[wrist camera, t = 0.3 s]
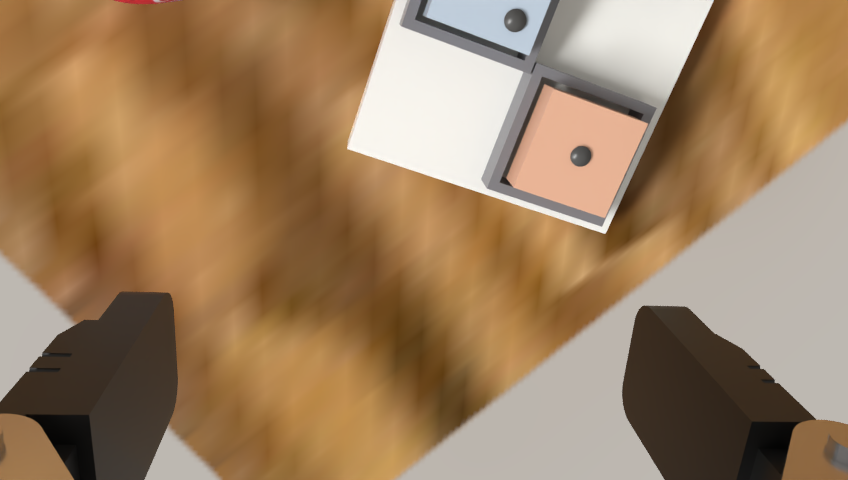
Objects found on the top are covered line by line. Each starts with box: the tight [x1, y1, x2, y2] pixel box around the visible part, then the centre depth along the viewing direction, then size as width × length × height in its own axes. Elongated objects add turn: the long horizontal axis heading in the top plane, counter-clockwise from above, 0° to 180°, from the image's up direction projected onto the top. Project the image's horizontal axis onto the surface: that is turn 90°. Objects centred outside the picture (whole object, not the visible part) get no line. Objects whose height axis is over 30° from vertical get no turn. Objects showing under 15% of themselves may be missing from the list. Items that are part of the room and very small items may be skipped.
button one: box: [506, 84, 648, 218], centre depth 34 cm, size 5×5×2 cm
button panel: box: [347, 0, 714, 234], centre depth 35 cm, size 20×15×4 cm
